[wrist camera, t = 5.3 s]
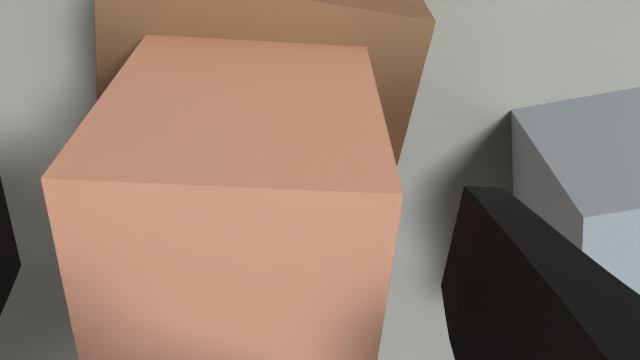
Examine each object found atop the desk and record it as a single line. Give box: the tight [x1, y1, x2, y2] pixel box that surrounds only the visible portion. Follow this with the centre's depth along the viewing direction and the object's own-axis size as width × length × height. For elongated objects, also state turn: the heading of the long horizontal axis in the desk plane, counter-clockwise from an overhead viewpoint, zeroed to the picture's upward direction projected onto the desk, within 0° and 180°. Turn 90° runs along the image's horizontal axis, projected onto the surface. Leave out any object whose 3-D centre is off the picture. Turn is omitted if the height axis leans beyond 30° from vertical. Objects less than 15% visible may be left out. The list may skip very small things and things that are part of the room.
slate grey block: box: [511, 87, 640, 294], centre depth 15 cm, size 4×4×5 cm
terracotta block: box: [41, 35, 404, 360], centre depth 10 cm, size 4×4×5 cm
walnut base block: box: [94, 0, 436, 166], centre depth 14 cm, size 6×6×4 cm
